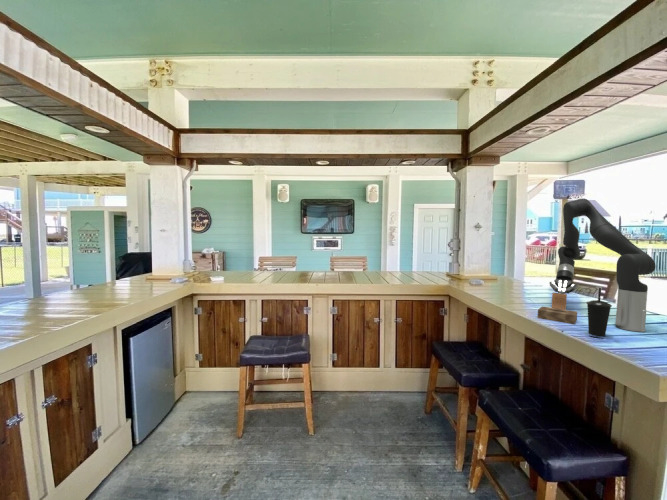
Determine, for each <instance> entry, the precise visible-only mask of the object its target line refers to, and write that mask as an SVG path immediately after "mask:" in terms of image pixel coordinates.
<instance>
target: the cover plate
mask: <svg viewBox="0 0 667 500" xmlns="http://www.w3.org/2000/svg"><path fill="white" fill-rule="evenodd" d="M567 295H568V293H565V294H561V293H558V292H552V296H551V308H556V309H563V310H567V300H568V299H567V298H568V296H567Z"/></svg>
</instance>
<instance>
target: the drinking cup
mask: <svg viewBox="0 0 667 500" xmlns="http://www.w3.org/2000/svg"><path fill="white" fill-rule="evenodd" d="M601 295H602V287H598V295H597V296H598V297H597V300H596V299H595V300H594V299H593V300H589V301H586V304H587V306H586V307H587V322H588V323H587V325H588V326H587V327H588V334H589V337H591V338H594V339H598V340H604V339H605V338H604V337H605V336H606V333H607V327H608V322H609V317H610V312H611V308H612V306H613V305H612V304H611V303H608V302H607V301H605V300H601Z"/></svg>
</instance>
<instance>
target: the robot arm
mask: <svg viewBox="0 0 667 500" xmlns="http://www.w3.org/2000/svg"><path fill="white" fill-rule="evenodd" d="M562 214H563V228H564V229H563V230H564V233H563V238H562V239H563V241H562V244H563V246H560V247H559V248H558V250H557V254H558V258H559V264H558V268H557V271H556V276H555V279H554V280H553V281H549V283H548V284H549V286H550V287H551V289H552V290H553V291H554V293H561V294H571V293H572V292H573V291H575V290H577V289H578V285H577V284H574V282H573V279H574V275H575V274H574V273H575V269H574V268H575V262H576V261H575V260H577V259H579V258H580V256H581V250H580V246H579V240H580V231H579V229H578V228H577V226H576V225H575V224H574V219H575V218H580V217H583V216H585V217H586V218H588V220H589V234H590V235H591V237H592V238H593V239H594V240H595V241H596V242H597V243H598V244H599V245H601V246H602V247H605V248H606V249H609V250H610V251H612V252H615V253H617V254H618V255H620V256H619V257H618V259H617V260H616V261H617V262H616V267H615V268H616V272H615V273H616V275H615V276H616V277H615V278H616V284H617V285H618V286H617V287H618V288H617V297H616V298H617V299H616V300H617V301H616V310H615V311H616V313H615V324H614V325H615V327H617V328H618V329H622V330H625V331H631V332H642V333H645V331H646V323H647V322H646V319H647V301H648V287H649V286H648V285H647V284H646V283H643V282H641V281H640V277H639V276H645V275H650V274H652V273H653V272H655V270H656V262H655V261H654V259H653V258H652V257H651V255H649V254H648V253H647V252H645V251H644V250H642V249H640V247H638V246H637V245H635V244H634V243H633V242H631V241H630V239H629V238H627V236H625V235H624V234H623V233H622V232H621V231H620V230H619V229H618V228H617V227H615V226H614V225H613V224H612V223H611V222H609V220H608V219H607V218H605V217H604V215H602V214H601V213H600V212H599V210H598V209H597V208H596V206H594V205H593V203H592V202H591V201H590V200H588V199H586V198H578V199H572V200H571V201H568V202H565V203H564V204H563V208H562Z"/></svg>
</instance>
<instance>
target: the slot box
mask: <svg viewBox="0 0 667 500" xmlns="http://www.w3.org/2000/svg"><path fill="white" fill-rule="evenodd" d="M537 319H541V320H547V321H552V322H559V323H564V324H570V325H576V322H577V321H578V311H576V310H575V311H574V310H570V309H568V310H567V309H566V310H563V309H556V308H552V307H550V306H549V307H548V306H543V305H542V306H540V307H539V308H538V309H537Z"/></svg>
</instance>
